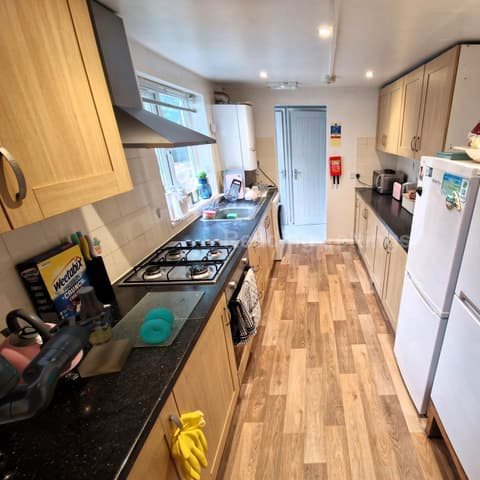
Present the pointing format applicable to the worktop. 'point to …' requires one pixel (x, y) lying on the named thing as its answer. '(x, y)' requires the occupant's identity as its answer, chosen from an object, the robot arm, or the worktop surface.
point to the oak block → (106, 358)
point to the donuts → (157, 325)
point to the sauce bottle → (93, 308)
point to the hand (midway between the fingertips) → (95, 310)
